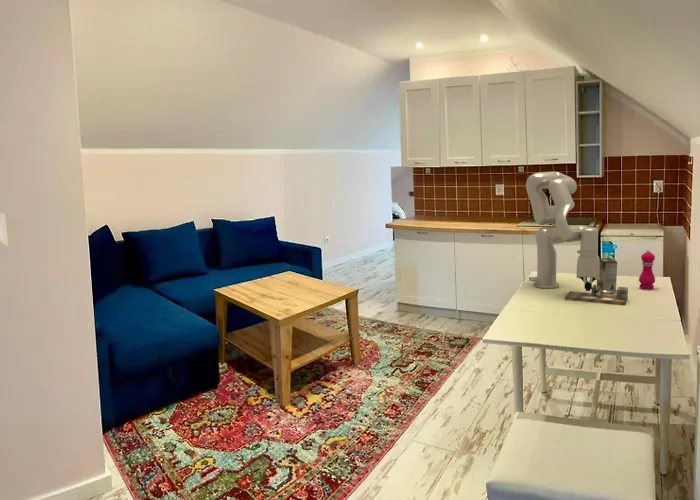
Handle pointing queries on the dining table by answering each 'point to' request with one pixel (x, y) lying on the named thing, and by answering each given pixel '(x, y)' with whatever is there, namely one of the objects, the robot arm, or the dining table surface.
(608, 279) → the coffee box
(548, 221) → the robot arm
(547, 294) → the dining table surface
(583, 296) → the base
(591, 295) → the grey rod with block
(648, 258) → the pepper mill
